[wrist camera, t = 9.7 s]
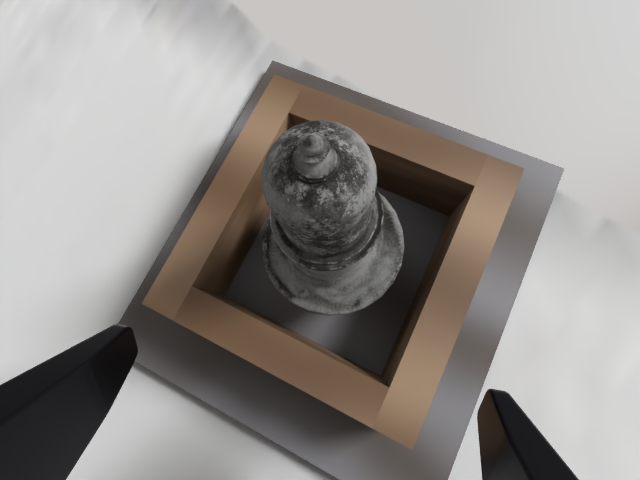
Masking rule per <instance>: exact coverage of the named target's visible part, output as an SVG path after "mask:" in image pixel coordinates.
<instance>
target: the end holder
mask: <svg viewBox="0 0 640 480" xmlns="http://www.w3.org/2000/svg"><path fill="white" fill-rule="evenodd" d="M316 120H326V121H333V122H338V123H340V124H342V125H345V126H347V127H349V128H351V129H352V130H353V131H355V132H356V133H357V134H359V135H360V136H361V137H362V139H363V140H364V141H365V143H366V144H367V145H368V147H369V148H370V151H371V154H372V156H373V159H374V161H375V164H376V171H377V185H376V187H377V189H378V192H379V193H380V194H381V195H382V196H384V197H385V198H386V200H387V201H388V202H389V204H390V205H391V206H392V208H393V209H394V210H395V212H396V214H397V216H398V219H399V221H400V224H401V226H402V229H403V238H404V253H403V259H402V265H401V268H400V270H399V272H398V274H397V276H396V278H395V280H394V283H393V284H392V285H391V286H390V287H389V288H388V290H387V291H386V292H385V293H384V294H383V295H382V297H381V298H379V299H378V300H376V301H375V302H373V303H372V304H370V305H369V306H367V307H366V308H364V309H361V310H358V311H355V312H352V313H349V314H345V315H328V316H327V315H322V314H317V313H312V312H308V311H306V310H304V309H302V308H300V307H298V306H296V305H294V304H292V303H291V302H289V301H288V300H287V299H286V298H285V297H284V296H283V295H282V294H281V293H280V292H279V291H278V290H277V289H276V288H275V286H274V284H273V283H272V281H271V279H270V278H269V276H268V275H267V272H266V268H265V265H264V261H263V258H262V236H263V232H264V228H265V225H266V221H267V219H268V217H269V216H270V208H269V207H268V205H267V204H266V201H265V197H264V194H263V190H262V168H263V164H264V160H265V156H266V155H267V153H268V151H269V149H270V148H271V146H272V144H273V143H274V142H275V141H276V140H277V139H278V138H279V137H280V136H281V135H282V134H283V133H284V132H286V131H287V130H289V129H290V128H292V127H294V126H296V125H299V124H302V123H304V122H307V121H316ZM563 170H564V168H561V167H558V166H556V165H553V164H550V163H548V162H545V161H542V160H539V159H537V158H534V157H531V156H529V155H526V154H523V153H521V152H518V151H515V150H513V149H510V148H507V147H505V146H502V145H499V144H496V143H494V142H491V141H488V140H485V139H483V138H480V137H477V136H475V135H472V134H469V133H467V132H464V131H461V130H459V129H456V128H453V127H451V126H448V125H445V124H442V123H440V122H437V121H434V120H431V119H429V118H426V117H423V116H421V115H418V114H415V113H413V112H410V111H407V110H405V109H402V108H399V107H397V106H394V105H391V104H388V103H386V102H383V101H380V100H378V99H375V98H372V97H370V96H367V95H364V94H361V93H359V92H356V91H353V90H351V89H348V88H345V87H343V86H340V85H337V84H334V83H332V82H329V81H326V80H324V79H321V78H318V77H316V76H313V75H310V74H308V73H305V72H302V71H299V70H297V69H294V68H291V67H289V66H286V65H283V64H281V63H278V62H275V61H272V62H271V64H270V66H269V68H268V69H267V71H266V73H265V74H264V76H263V78H262V80H261V81H260V83H259V85H258V86H257V88H256V90H255V91H254V93H253V95H252V97H251V98H250V100H249V102H248V103H247V105H246V107H245V109H244V110H243V112H242V114H241V115H240V117H239V119H238V121H237V122H236V124H235V126H234V127H233V129H232V131H231V133H230V134H229V136H228V138H227V139H226V141H225V143H224V144H223V146H222V148H221V150H220V151H219V153H218V155H217V156H216V158H215V160H214V162H213V163H212V165H211V167H210V168H209V170H208V172H207V174H206V175H205V177H204V179H203V180H202V182H201V184H200V186H199V187H198V189H197V191H196V192H195V194H194V196H193V198H192V199H191V201H190V203H189V204H188V206H187V208H186V209H185V211H184V213H183V215H182V216H181V218H180V220H179V221H178V223H177V225H176V227H175V228H174V230H173V232H172V233H171V235H170V237H169V239H168V240H167V242H166V244H165V245H164V247H163V249H162V251H161V252H160V254H159V256H158V257H157V259H156V261H155V262H154V264H153V266H152V268H151V269H150V271H149V273H148V274H147V276H146V278H145V280H144V281H143V283H142V285H141V286H140V288H139V290H138V292H137V293H136V295H135V297H134V298H133V300H132V302H131V304H130V305H129V307H128V309H127V310H126V312H125V314H124V315H123V317H122V319H121V321H120V322H119V324H118V325H125V326H129V327H131V328H132V329H133V331H134V335H135V339H136V343H137V346H138V354H137V357H136V359H135V362H136V363H138V364H140V365H142V366H143V367H145V368H147V369H149V370H150V371H152V372H154V373H155V374H157V375H159V376H161V377H162V378H164V379H166V380H168V381H169V382H171V383H173V384H174V385H176V386H178V387H180V388H181V389H183V390H185V391H187V392H188V393H190V394H192V395H193V396H195V397H197V398H199V399H200V400H202V401H204V402H206V403H207V404H209V405H211V406H213V407H214V408H216V409H218V410H219V411H221V412H223V413H225V414H226V415H228V416H230V417H232V418H233V419H235V420H237V421H238V422H240V423H242V424H244V425H245V426H247V427H249V428H251V429H252V430H254V431H256V432H258V433H259V434H261V435H263V436H264V437H266V438H268V439H270V440H271V441H273V442H275V443H277V444H278V445H280V446H282V447H283V448H285V449H287V450H289V451H290V452H292V453H294V454H296V455H297V456H299V457H301V458H302V459H304V460H306V461H308V462H309V463H311V464H313V465H315V466H316V467H318V468H320V469H322V470H323V471H325V472H327V473H328V474H330V475H332V476H334V477H335V478H337V479H339V480H448V477H449V475H450V472H451V469H452V467H453V464H454V461H455V459H456V456H457V453H458V451H459V448H460V445H461V443H462V440H463V437H464V435H465V432H466V429H467V427H468V424H469V421H470V419H471V416H472V413H473V411H474V408H475V405H476V403H477V400H478V397H479V395H480V392H481V389H482V387H483V384H484V381H485V379H486V376H487V373H488V371H489V368H490V365H491V363H492V360H493V357H494V355H495V352H496V349H497V347H498V344H499V341H500V339H501V336H502V333H503V331H504V328H505V325H506V323H507V320H508V317H509V315H510V312H511V309H512V307H513V304H514V301H515V299H516V296H517V293H518V291H519V288H520V285H521V283H522V280H523V277H524V275H525V272H526V269H527V267H528V264H529V261H530V259H531V256H532V253H533V251H534V248H535V245H536V243H537V240H538V237H539V235H540V232H541V229H542V227H543V224H544V221H545V219H546V216H547V213H548V211H549V208H550V205H551V203H552V200H553V197H554V195H555V192H556V189H557V187H558V184H559V181H560V179H561V175H562V173H563Z"/></svg>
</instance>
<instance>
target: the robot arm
mask: <svg viewBox="0 0 640 480" xmlns="http://www.w3.org/2000/svg"><path fill="white" fill-rule="evenodd" d="M137 354H138V346H137V343H136V339H135V335H134V331H133V329H132V328H131V327H129V326H125V325H118V324H117V325H113V326H111V327H109V328H107V329H105V330H103V331H101V332H100V333H98V334H96V335H94V336H92V337H90V338H88V339H86V340H84V341H83V342H81V343H79V344H77V345H75V346H73V347H71V348H69V349H67V350H66V351H64V352H62V353H60V354H58V355H56V356H54V357H52V358H51V359H49V360H47V361H45V362H43V363H41V364H39V365H37V366H35V367H34V368H32V369H30V370H28V371H26V372H24V373H22V374H20V375H18V376H17V377H15V378H13V379H11V380H9V381H7V382H5V383H3V384H1V385H0V480H66V479H67V477H68V475H69V474H70V472H71V471H72V469H73V468H74V466H75V464H76V463H77V461H78V460H79V458H80V457H81V455H82V453H83V452H84V450H85V449H86V447H87V445H88V444H89V442H90V441H91V439H92V438H93V436H94V434H95V433H96V431H97V430H98V428H99V427H100V425H101V423H102V422H103V420H104V419H105V417H106V415H107V414H108V412H109V410H110V408H111V406H112V405H113V403H114V401H115V399H116V397H117V395H118V393H119V391H120V389H121V387H122V385H123V383H124V381H125V379H126V377H127V375H128V373H129V371H130V369H131V367H132V365H133V363H134V361H135V359H136V357H137ZM477 420H478V433H479V444H480V456H481V468H482V479H483V480H579V479H578V478H577V477H576V476H575V475H574V473H573V472H572V471H571V470H570V468H569V467H568V466H567V465H566V463H565V462H564V461H563V460H562V458H561V457H560V456H559V455H558V454H557V452H556V451H555V450H554V449H553V447H552V446H551V445H550V444H549V442H548V441H547V440H546V439H545V437H544V436H543V435H542V434H541V433H540V431H539V430H538V429H537V428H536V426H535V425H534V424H533V423H532V421H531V420H530V419H529V418H528V417H527V415H526V414H525V413H524V412H523V410H522V409H521V408H520V407H519V405H518V404H517V403H516V402H515V400H514V399H513V398H512V397H511V396H510V394H508V393H507V392H505V391H500V390H495V389H489V390H488V391H487V392H486V394H485V396H484V398H483V401H482V403H481V405H480V408H479V410H478V416H477Z"/></svg>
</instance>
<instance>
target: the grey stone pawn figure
mask: <svg viewBox="0 0 640 480" xmlns="http://www.w3.org/2000/svg"><path fill="white" fill-rule="evenodd" d="M376 185H377V171H376V164H375V161H374V159H373V156H372V154H371V151H370V148H369V147H368V145H367V144H366V143H365V141H364V140H363V139H362V137H361V136H360V135H359V134H357V133H356V132H355V131H353V130H352V129H351V128H349V127H347V126H345V125H342V124H340V123H338V122H333V121H326V120H316V121H307V122H304V123H302V124H299V125H296V126H294V127H292V128H290V129H289V130H287V131H286V132H284V133H283V134H282V135H281V136H280V137H279V138H278V139H277V140H276V141H275V142H274V143H273V144H272V146H271V148H270V149H269V151H268V153H267V155H266V156H265V160H264V164H263V168H262V190H263V194H264V197H265V201H266V204H267V205H268V207H269V208H270V216H269V217H268V219H267V221H266V225H265V228H264V232H263V236H262V258H263V261H264V265H265V268H266V272H267V275H268V276H269V278H270V279H271V281H272V283H273V284H274V286H275V288H276V289H277V290H278V291H279V292H280V293H281V294H282V295H283V296H284V297H285V298H286V299H287V300H288V301H289V302H291V303H292V304H294V305H296V306H298V307H300V308H302V309H304V310H306V311H308V312H312V313H317V314H322V315H327V316H328V315H345V314H349V313H352V312H355V311H358V310H361V309H364V308H366V307H367V306H369V305H370V304H372V303H373V302H375V301H376V300H378V299H379V298H381V297H382V295H383V294H384V293H385V292H386V291H387V290H388V288H389V287H390V286H391V285H392V284H393V283H394V280H395V278H396V276H397V274H398V272H399V270H400V268H401V265H402V259H403V253H404V238H403V229H402V226H401V224H400V221H399V219H398V216H397V214H396V212H395V210H394V209H393V208H392V206H391V205H390V204H389V202H388V201H387V200H386V198H385V197H384V196H382V195H381V194H380V193H379V192H378V189H377V187H376Z"/></svg>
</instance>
